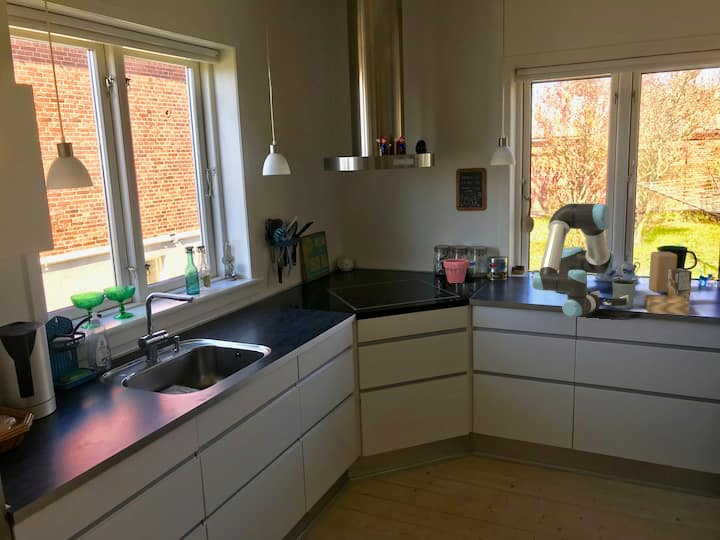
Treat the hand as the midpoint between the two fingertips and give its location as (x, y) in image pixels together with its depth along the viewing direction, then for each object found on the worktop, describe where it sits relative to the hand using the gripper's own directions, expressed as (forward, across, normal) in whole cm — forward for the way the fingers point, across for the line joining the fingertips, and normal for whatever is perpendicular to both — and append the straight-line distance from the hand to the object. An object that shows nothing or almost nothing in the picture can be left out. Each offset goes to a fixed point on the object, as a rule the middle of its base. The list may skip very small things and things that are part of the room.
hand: (613, 296), depth 274 cm
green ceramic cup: (+10, 0, -7) cm, 12 cm away
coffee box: (+35, +14, -7) cm, 39 cm away
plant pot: (+1, -94, -7) cm, 94 cm away
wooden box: (+18, +16, -7) cm, 25 cm away
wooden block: (+57, -3, -7) cm, 57 cm away
